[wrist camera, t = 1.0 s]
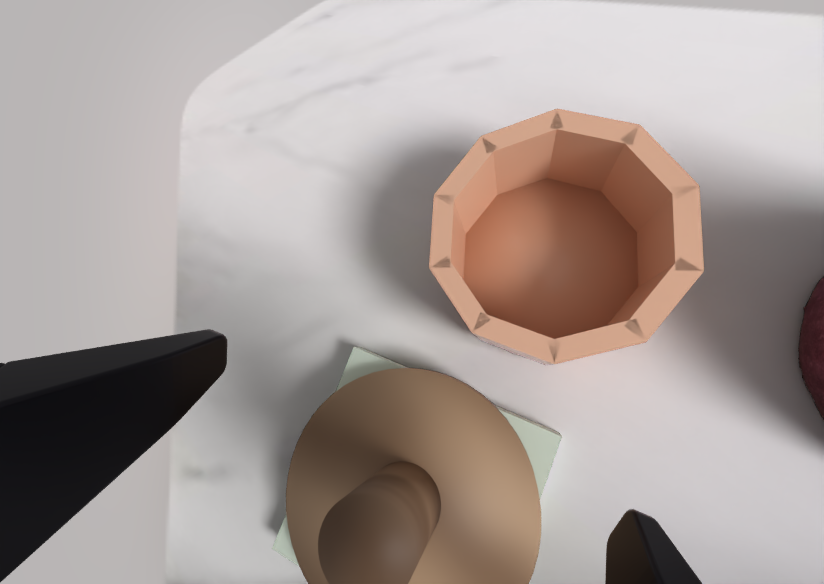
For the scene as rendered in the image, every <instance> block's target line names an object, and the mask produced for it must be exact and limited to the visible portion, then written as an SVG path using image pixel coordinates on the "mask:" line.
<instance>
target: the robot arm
mask: <svg viewBox="0 0 824 584" xmlns="http://www.w3.org/2000/svg"><path fill="white" fill-rule="evenodd" d="M226 364H227V338H226V336H224V335H223V334H221V333H218V332H216V331H214V330H202V331H196V332H189V333H183V334H177V335H171V336H165V337H159V338H153V339H147V340H141V341H135V342H128V343H122V344H116V345H110V346H104V347H97V348H92V349H85V350H79V351H73V352H66V353H61V354H54V355H49V356H42V357H36V358H30V359H23V360H18V361H11V362H8V363H6V364H4V363H0V582H1V581H2V580H3V579H5V578H6V577H7V576H8V575H9V574H10V573H11V572H12V571H13V570H15V569H16V568H17V567H18V566H19V565H20V564H21V563H22V562H23V561H25V560H26V559H27V558H28V557H29V556H30V555H31V554H32V553H33V552H35V551H36V550H37V549H38V548H39V547H40V546H41V545H42V544H43V543H45V541H47V540H48V539H49V538H50V537H51V536H52V535H53V534H54V533H56V532H57V531H58V530H59V529H60V528H61V527H62V526H63V525H65V524H66V523H67V522H68V521H69V520H70V519H71V518H72V517H73V516H74V515H76V514H77V513H78V512H79V511H80V510H81V509H82V508H83V507H84V506H86V505H87V504H88V503H89V502H90V501H91V500H92V499H93V498H95V497H96V496H97V495H98V494H99V493H100V492H101V491H102V490H103V489H105V488H106V487H107V486H108V485H109V484H110V483H111V482H112V481H113V480H115V479H116V478H117V477H118V476H119V475H120V474H121V473H122V472H123V471H124V470H126V469H127V468H128V467H129V466H130V465H131V464H132V463H133V462H134V461H135V460H137V459H138V458H139V457H140V456H141V455H142V454H143V453H144V452H146V451H147V450H148V449H149V448H150V447H151V446H152V445H153V444H155V443H156V442H157V441H158V440H159V439H160V438H161V437H162V436H163V435H164V434H166V433H167V432H168V431H169V430H170V429H171V428H172V427H173V426H174V425H175V424H176V423H177V422H178V421H179V420H180V419H181V418H182V417H183V416H184V415H185V414H186V413H187V412H188V411H189V409H190V408H191V407H192V406H193V405H194V404H195V403H196V402H197V401H198V400H199V399H200V398H201V396H202V395H203V394H204V393H205V392H206V391H207V390H208V389H209V388H210V387H211V386H212V385H213V383H214V382H215V381H216V380H217V379H218V378H219V377H220V376H221V375H222V373H223V372H224V370H225V368H226ZM605 584H702V583H701V581H700V580H699V578H698V577H697V576H696V574H695V573H694V572H693V570H692V569H691V567H690V566H689V565H688V563H687V562H686V561H685V559H684V558H683V557H682V555H681V554H680V552H679V551H678V550H677V548H676V547H675V546H674V544H673V543H672V541H671V540H670V539H669V537H668V536H667V535H666V533H665V532H664V530H663V529H662V528H661V526H660V525H659V524H658V522H657V521H656V520H655V519H654V518H652V517H651V516H648V515H646V514H644V513H641V512H639V511H637V510H634V509H630V510H628V511H627V512H626V513H625V514H624V515H623V517H622V518H621V520H620V521H619V523H618V524H617V526H616V527H615V528H614V530H613V531H612V533H611V534H610V536H609V539H608V542H607V551H606V583H605Z"/></svg>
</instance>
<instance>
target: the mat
mask: <svg viewBox="0 0 824 584" xmlns="http://www.w3.org/2000/svg"><path fill="white" fill-rule="evenodd" d="M398 368H408V367H405V366H403V365H401V364H398V363H396V362H394V361H391V360H389V359H387V358H384V357H382V356H380V355H377V354H375V353H373V352H370V351H368V350H366V349H363V348H361V347H353V350H352V352H351V355H350V357H349V360H348V362H347V365H346V367H345V370H344V372H343V375H342V377H341V379H340V382H339V384H338V387H337V389H336V391H337V390H339V389H340V388H342V387H343V386H344V385H346V384H348V383H350V382H352V381H353V380H355V379H357V378H359V377H362V376H365V375H367V374H370V373H373V372H377V371H382V370H387V369H398ZM495 406H496V405H495ZM496 407H497V408H498V410H499V411H500V412H501V413H502V414H503V415H504V416H505V417H506V419H507V420H508V421H509V423H510V424H511V426H512V427H513V428H514V430H515V431H516V433H517V434H518V436H519V438H520V440H521V442H522V444H523V446H524V448H525V449H526V452H527V454H528V457H529V460H530V462H531V465H532V467H533V471H534V475H535V479H536V483H537V487H538V492H539V499H540V498H541V495H542V492H543V489H544V486H545V483H546V480H547V478H548V475H549V472H550V469H551V466H552V463H553V461H554V458H555V455H556V452H557V449H558V446H559V443H560V441H561V438H562V436H561V435H560V433H558V432H556V431H554V430H552V429H549V428H547V427H545V426H542V425H540V424H538V423H535V422H533V421H531V420H528V419H526V418H524V417H521V416H519V415H517V414H514V413H512V412H510V411H507V410H505V409H503V408H500V407H498V406H496ZM272 549H273V550H275V551H276V552H278V553H279V554H281V555H282V556H284V557H285V558H287V559H288V560H290V561H291V562H293V563H294V564H296V565H297V566H299V564H298V562H297V559H296V556H295V553H294V550H293V547H292V543H291V539H290V534H289V530H288V523H287V514H286V516H285V518H284V520H283V523H282V525H281V528H280V530H279V533H278V535H277V538H276V540H275V543H274V545H273V548H272ZM299 567H300V566H299Z"/></svg>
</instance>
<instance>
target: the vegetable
mask: <svg viewBox="0 0 824 584" xmlns="http://www.w3.org/2000/svg"><path fill="white" fill-rule="evenodd" d="M798 349H799V350H798V351H799V358H798V359H799V364H800V368H801V371H802V378H803V379H804V382H805V385H806V386H807V389H808V391H809V392H810V393H811V396H812V398H813V399H814V401H815V402H814V403H815V405H816V407H817V409H818V410H819V412H820V414H821V416H822V418H823V419H824V277H823V278H822V279H821V280H820V281H819V282H818V283H817V285H816V287H815V289H814V291H813V292H812V295H811V298H810V299H809V301H808V302H807V305H806V306H805V307H804V319H803V323H802V327H801V333H800V342H799V348H798Z"/></svg>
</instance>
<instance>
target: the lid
mask: <svg viewBox="0 0 824 584" xmlns="http://www.w3.org/2000/svg"><path fill="white" fill-rule="evenodd" d="M286 514H287V523H288V530H289V534H290V539H291V543H292V547H293V550H294V553H295V556H296V559H297V562H298V564H299V566H300V568H301V570H302V572H303V575H304V577H305V579H306V580H307V582H308V584H529V581H530V579H531V577H532V574H533V572H534V568H535V564H536V561H537V557H538V553H539V545H540V538H541V507H540V499H539V492H538V487H537V483H536V479H535V475H534V471H533V467H532V465H531V462H530V460H529V457H528V454H527V452H526V449H525V448H524V446H523V444H522V442H521V440H520V438H519V436H518V434H517V433H516V431H515V430H514V428H513V427H512V426H511V424H510V423H509V421H508V420H507V419H506V417H505V416H504V415H503V414H502V413H501V412H500V411H499V410H498V408H497V407H496V406H495V405H494V404H493V403H491V402H490V401H489V400H488V399H487V398H486V397H485V396H483V395H482V394H481V393H480V392H478V391H477V390H475V389H474V388H472V387H471V386H469V385H468V384H466V383H464V382H462V381H460V380H458V379H456V378H454V377H451V376H448V375H445V374H442V373H439V372H435V371H430V370H425V369H415V368H398V369H387V370H382V371H377V372H373V373H370V374H367V375H365V376H362V377H359V378H357V379H355V380H353V381H352V382H350V383H348V384H346V385H344V386H343V387H342V388H340V389H339V390H337V391H336V392H335V393H333V394H332V395H331V396H330V397H329V398H328V399H327V400H326V401H325V402H324V403H323V404H322V405H321V406H320V407H319V408H318V409H317V411H316V412H315V413H314V414H313V416H312V417H311V419H310V420H309V422H308V423H307V425H306V426H305V428H304V430H303V432H302V434H301V436H300V438H299V440H298V442H297V444H296V447H295V450H294V453H293V456H292V459H291V463H290V468H289V473H288V479H287V488H286Z"/></svg>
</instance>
